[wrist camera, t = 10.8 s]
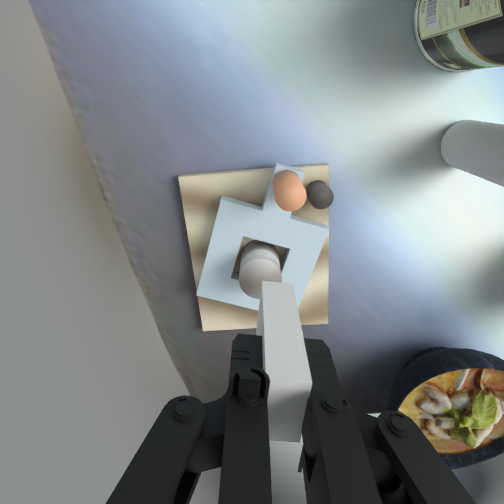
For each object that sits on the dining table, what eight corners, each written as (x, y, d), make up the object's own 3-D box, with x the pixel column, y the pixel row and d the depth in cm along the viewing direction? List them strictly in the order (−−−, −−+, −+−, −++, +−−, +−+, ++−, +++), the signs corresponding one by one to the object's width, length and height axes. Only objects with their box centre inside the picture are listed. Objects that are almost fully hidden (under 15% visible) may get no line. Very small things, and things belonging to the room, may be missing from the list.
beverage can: (456, 175, 40) (533, 208, 29) (427, 146, 38) (496, 169, 27) (494, 139, 38) (590, 159, 27) (465, 108, 37) (553, 116, 26)
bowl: (346, 373, 51) (366, 435, 42) (448, 296, 46) (497, 347, 37) (420, 432, 56) (453, 499, 47) (521, 368, 50) (580, 429, 41)
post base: (180, 174, 40) (166, 190, 33) (327, 163, 39) (341, 177, 33) (204, 325, 48) (196, 361, 42) (326, 318, 47) (337, 353, 41)
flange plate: (292, 311, 45) (298, 346, 39) (198, 288, 44) (189, 320, 38) (343, 181, 38) (359, 198, 32) (233, 149, 37) (229, 161, 31)
